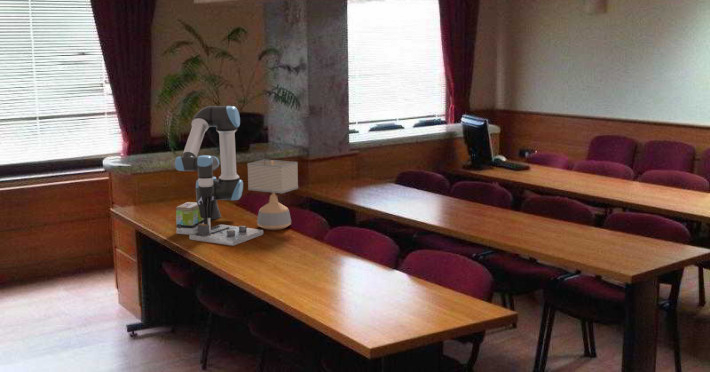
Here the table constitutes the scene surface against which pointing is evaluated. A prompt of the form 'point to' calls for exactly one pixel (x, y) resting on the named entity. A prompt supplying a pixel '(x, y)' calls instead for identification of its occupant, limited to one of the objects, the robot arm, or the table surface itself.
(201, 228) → the cap
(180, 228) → the tea box
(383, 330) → the table surface
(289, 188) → the desk lamp
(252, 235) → the console
